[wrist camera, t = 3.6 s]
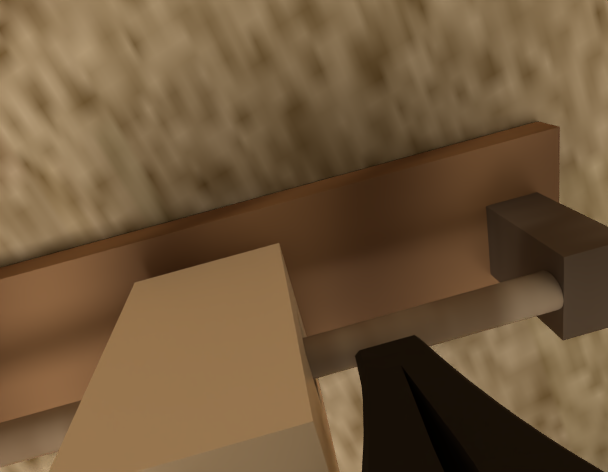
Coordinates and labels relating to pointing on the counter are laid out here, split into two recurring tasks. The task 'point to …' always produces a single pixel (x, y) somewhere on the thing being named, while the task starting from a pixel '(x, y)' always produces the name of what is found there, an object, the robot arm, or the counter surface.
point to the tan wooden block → (204, 378)
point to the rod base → (326, 270)
